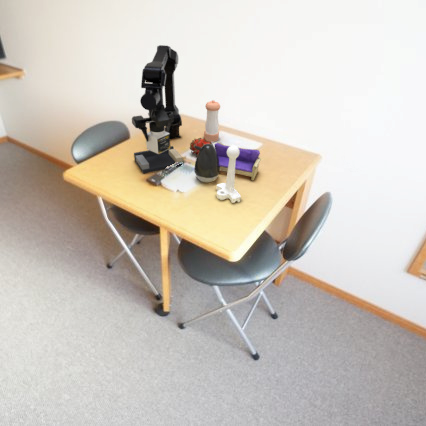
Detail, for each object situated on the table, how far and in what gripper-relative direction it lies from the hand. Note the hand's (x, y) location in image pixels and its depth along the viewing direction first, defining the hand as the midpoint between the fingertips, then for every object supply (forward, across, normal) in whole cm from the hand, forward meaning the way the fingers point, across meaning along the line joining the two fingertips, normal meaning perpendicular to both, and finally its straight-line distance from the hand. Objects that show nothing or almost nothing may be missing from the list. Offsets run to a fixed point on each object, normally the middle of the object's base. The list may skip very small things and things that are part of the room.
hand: (157, 139), depth 131 cm
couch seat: (+11, 0, 0) cm, 11 cm away
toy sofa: (+12, +26, -18) cm, 34 cm away
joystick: (+11, +14, -34) cm, 38 cm away
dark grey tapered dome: (+11, +13, -20) cm, 26 cm away
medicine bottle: (+5, 0, 0) cm, 5 cm away
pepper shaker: (+12, +33, +14) cm, 38 cm away
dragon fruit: (+12, +21, +2) cm, 24 cm away
